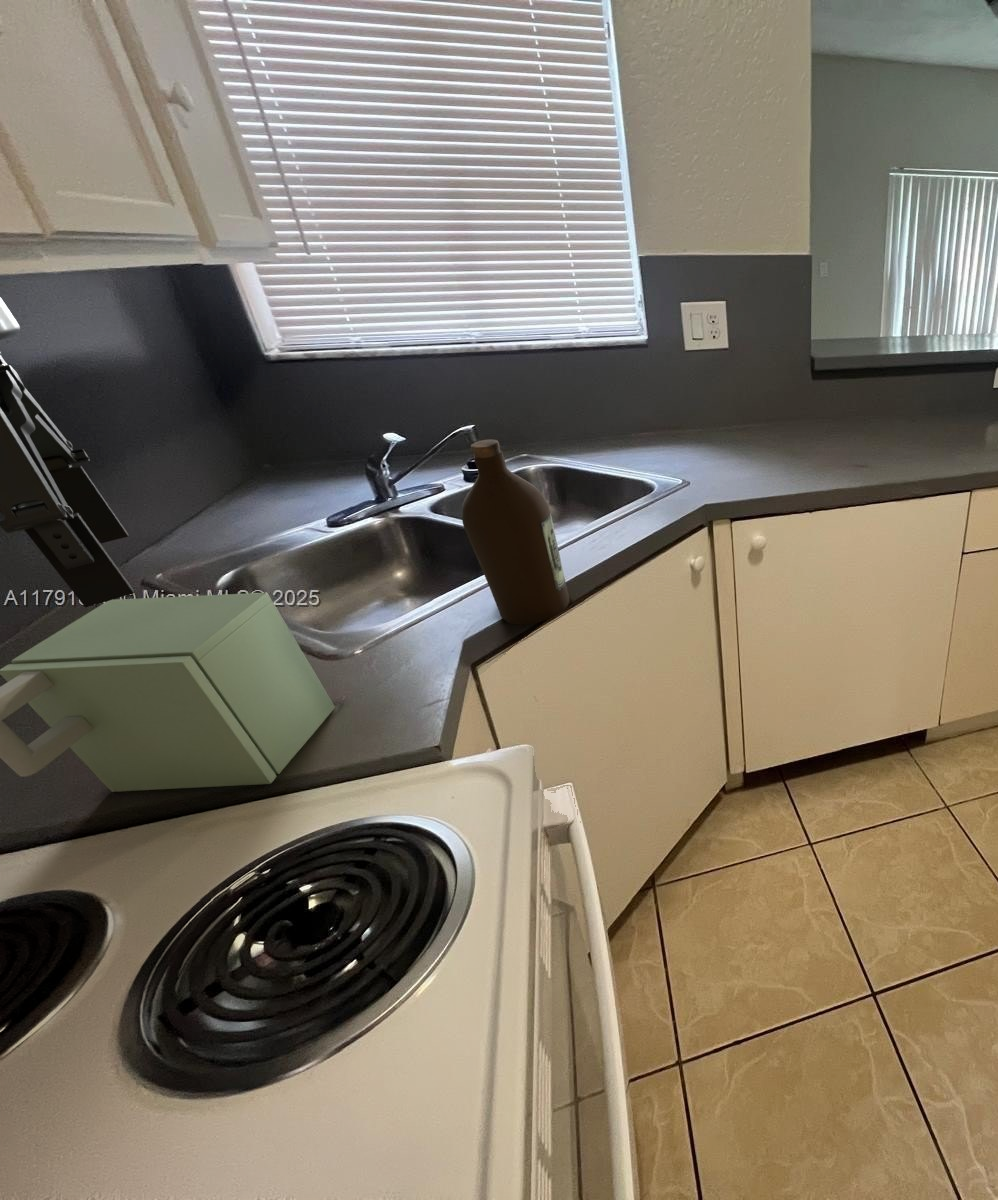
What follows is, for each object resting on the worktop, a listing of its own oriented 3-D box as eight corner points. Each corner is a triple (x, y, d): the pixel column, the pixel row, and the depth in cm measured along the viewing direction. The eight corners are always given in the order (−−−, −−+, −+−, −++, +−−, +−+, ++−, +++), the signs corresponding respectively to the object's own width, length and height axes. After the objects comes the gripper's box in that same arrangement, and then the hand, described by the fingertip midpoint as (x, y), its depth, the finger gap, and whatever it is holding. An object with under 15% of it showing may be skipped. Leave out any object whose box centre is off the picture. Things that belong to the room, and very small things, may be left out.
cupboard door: (234, 838, 59) (124, 708, 50) (62, 847, 59) (-79, 717, 50) (281, 782, 65) (190, 655, 56) (125, 789, 65) (8, 663, 56)
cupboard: (283, 781, 65) (191, 652, 56) (128, 788, 65) (9, 660, 56) (339, 714, 74) (267, 592, 64) (201, 720, 73) (109, 599, 64)
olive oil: (498, 640, 85) (434, 464, 71) (497, 602, 93) (439, 437, 79) (579, 621, 88) (532, 449, 74) (571, 585, 96) (527, 424, 83)
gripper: (-42, 285, 34) (180, 607, 46) (1, 262, 50) (159, 508, 61) (-275, 302, 30) (34, 653, 42) (-149, 272, 45) (51, 534, 57)
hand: (109, 567), depth 51 cm, fingers open, 13 cm apart
